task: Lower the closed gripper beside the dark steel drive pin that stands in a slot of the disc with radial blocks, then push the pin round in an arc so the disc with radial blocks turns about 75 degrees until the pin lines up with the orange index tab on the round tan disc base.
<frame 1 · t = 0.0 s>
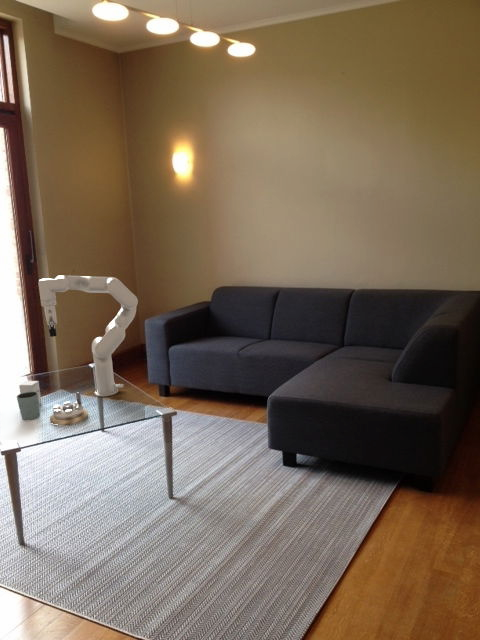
hand: (52, 334, 304), 37 cm above the table, tool pointing down, fingers open, 9 cm apart
supplement box: (32, 405, 307), on the table
grey-green cup: (30, 417, 290), on the table
round tan disc base: (69, 418, 285), on the table
disc with radial blocks: (67, 404, 283), point 7 cm above the table, hinge at 0.0°
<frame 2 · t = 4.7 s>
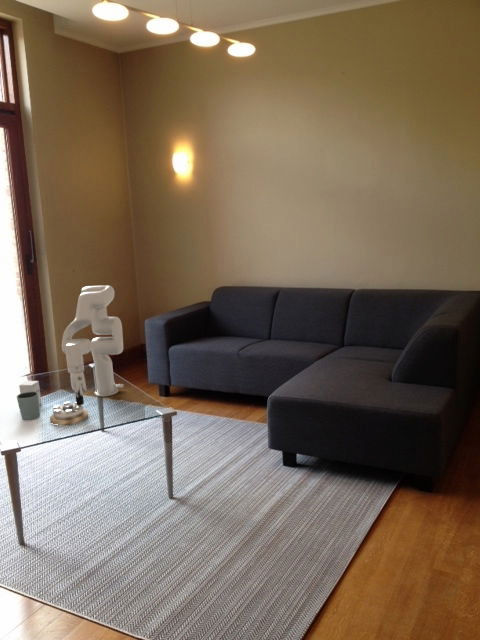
hand: (80, 404, 281), 8 cm above the table, tool pointing down, fingers closed
disc with radial blocks: (67, 404, 283), point 7 cm above the table, hinge at 0.6°, touching gripper
everything else where it was.
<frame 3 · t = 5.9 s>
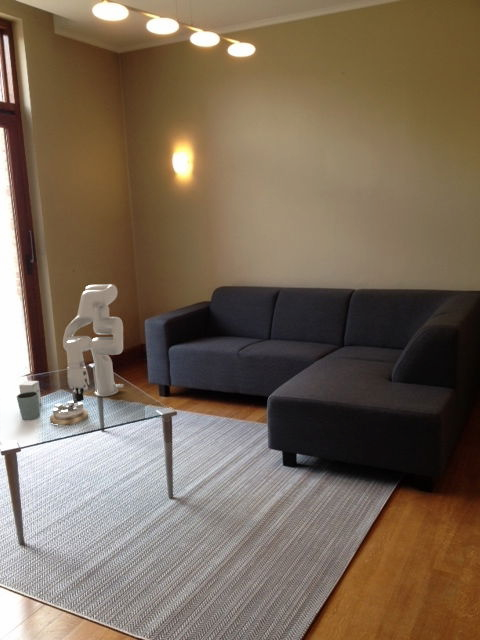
hand: (80, 400, 286), 8 cm above the table, tool pointing down, fingers closed
disc with radial blocks: (67, 404, 283), point 7 cm above the table, hinge at 43.0°, touching gripper
everything else where it was.
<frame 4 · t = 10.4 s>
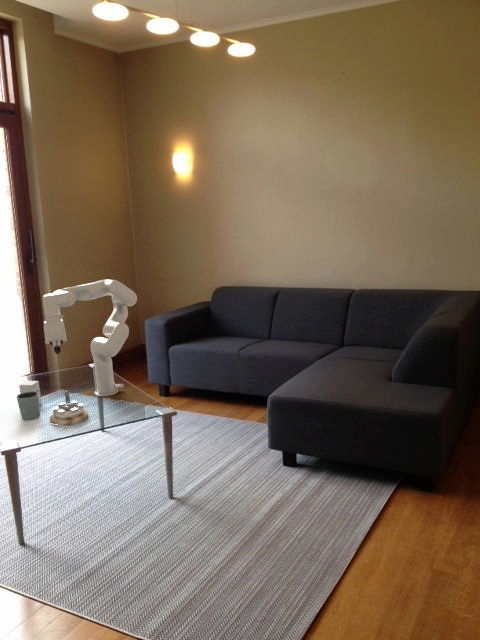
hand: (57, 353, 295), 29 cm above the table, tool pointing down, fingers closed
disc with radial blocks: (67, 404, 283), point 7 cm above the table, hinge at 84.8°
everything else where it was.
at the end: disc with radial blocks at +85° (first picture: +0°) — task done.
